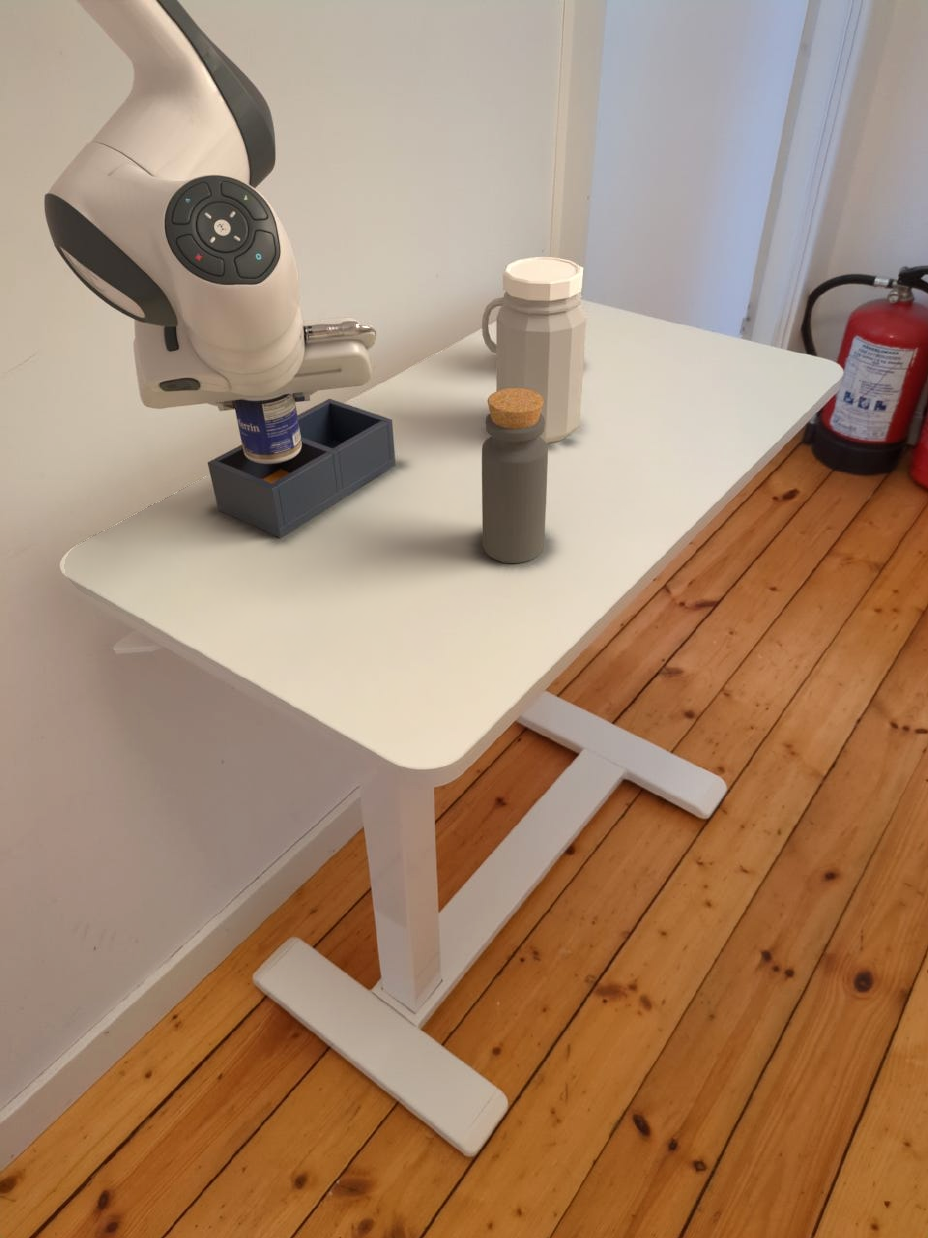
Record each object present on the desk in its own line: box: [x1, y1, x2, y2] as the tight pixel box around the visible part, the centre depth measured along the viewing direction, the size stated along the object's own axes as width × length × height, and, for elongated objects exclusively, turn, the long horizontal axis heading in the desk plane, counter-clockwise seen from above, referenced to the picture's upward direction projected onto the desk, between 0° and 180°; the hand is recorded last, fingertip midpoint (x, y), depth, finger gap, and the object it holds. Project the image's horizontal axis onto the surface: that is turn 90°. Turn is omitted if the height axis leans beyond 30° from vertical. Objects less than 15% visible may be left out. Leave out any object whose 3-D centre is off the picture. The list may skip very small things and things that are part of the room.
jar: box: [495, 256, 588, 444], centre depth 98 cm, size 10×10×18 cm
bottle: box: [481, 388, 549, 564], centre depth 80 cm, size 6×6×15 cm
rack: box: [207, 398, 397, 539], centre depth 93 cm, size 17×9×6 cm, turn 143°
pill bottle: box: [233, 393, 302, 464], centre depth 85 cm, size 6×6×10 cm
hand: (263, 398), depth 85 cm, fingers closed on pill bottle, 6 cm apart
